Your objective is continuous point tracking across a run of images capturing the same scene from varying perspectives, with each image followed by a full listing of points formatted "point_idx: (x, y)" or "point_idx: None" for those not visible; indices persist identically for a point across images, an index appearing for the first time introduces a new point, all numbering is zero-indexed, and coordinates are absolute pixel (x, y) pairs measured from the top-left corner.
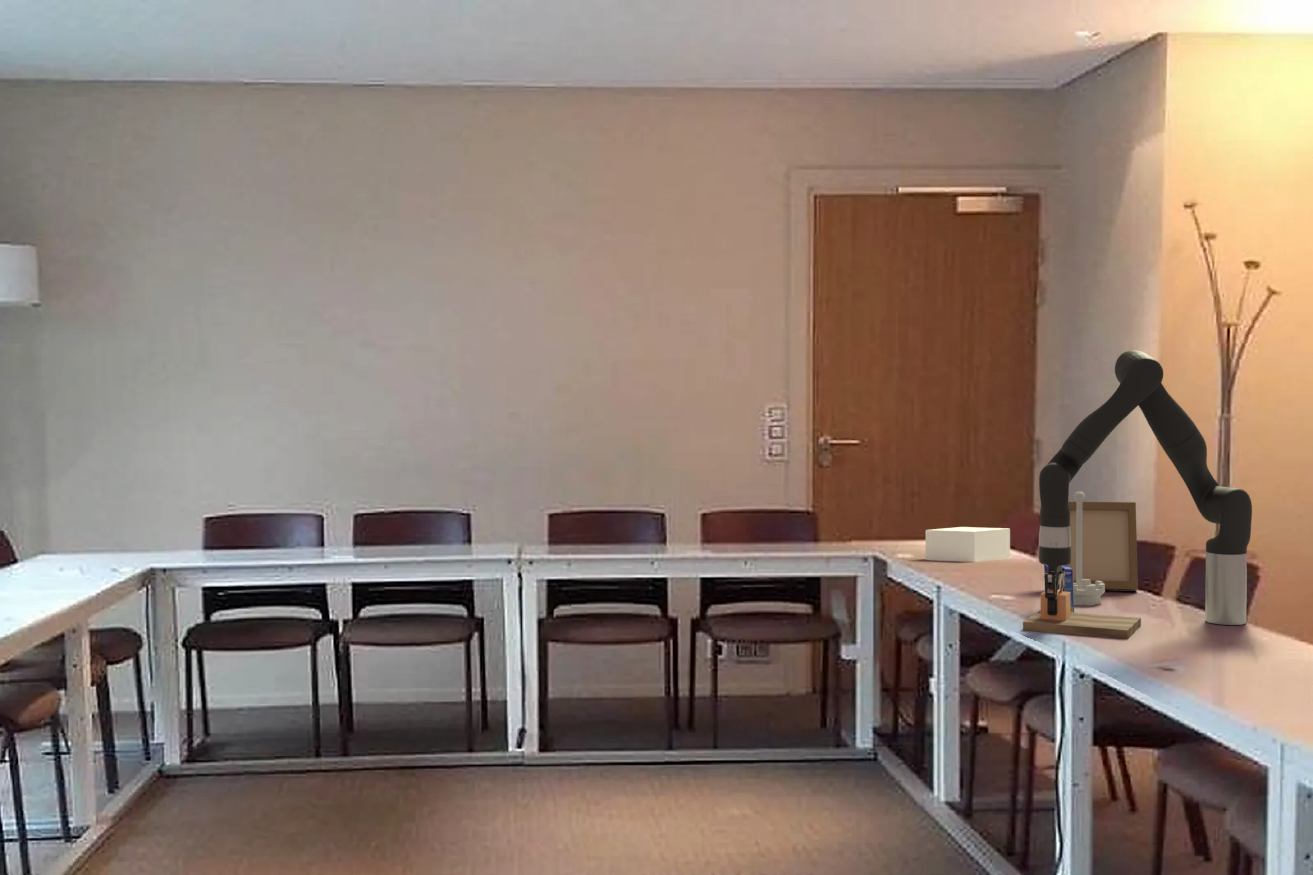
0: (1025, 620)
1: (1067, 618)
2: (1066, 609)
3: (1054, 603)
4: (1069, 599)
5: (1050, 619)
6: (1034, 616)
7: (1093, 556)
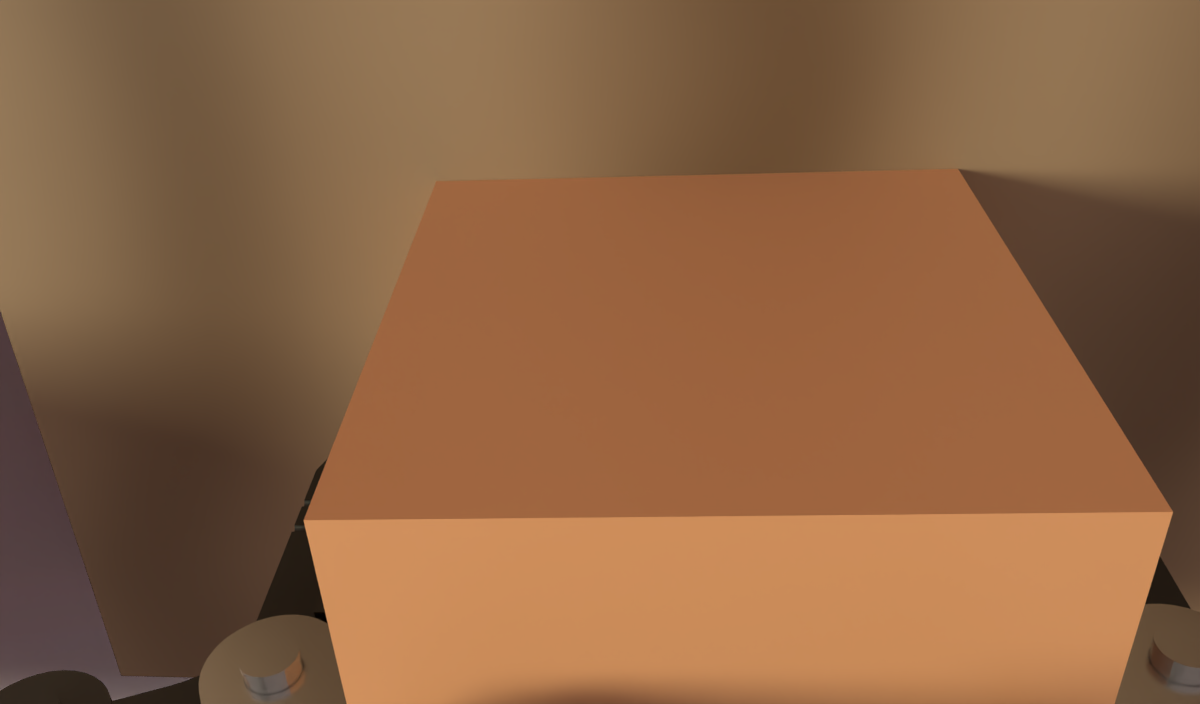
0: None
1: (789, 177)
2: (963, 275)
3: (1174, 584)
4: (522, 388)
5: None
6: None
7: None
